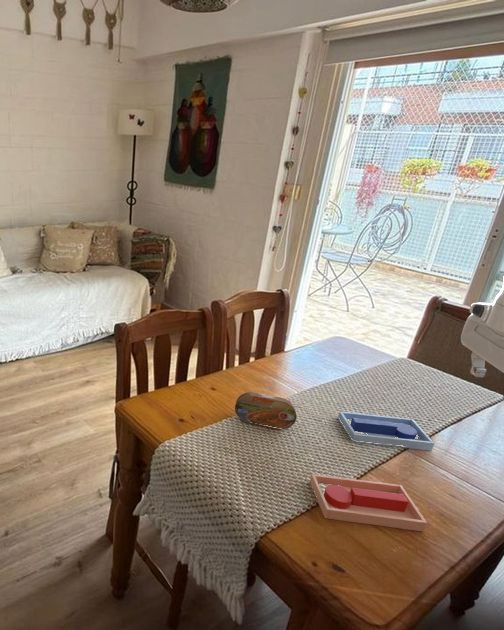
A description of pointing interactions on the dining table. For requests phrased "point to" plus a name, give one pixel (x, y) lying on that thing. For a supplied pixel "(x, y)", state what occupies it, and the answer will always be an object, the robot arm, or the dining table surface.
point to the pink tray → (366, 514)
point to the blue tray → (420, 443)
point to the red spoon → (364, 498)
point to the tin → (265, 410)
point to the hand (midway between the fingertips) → (492, 387)
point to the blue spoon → (384, 428)
